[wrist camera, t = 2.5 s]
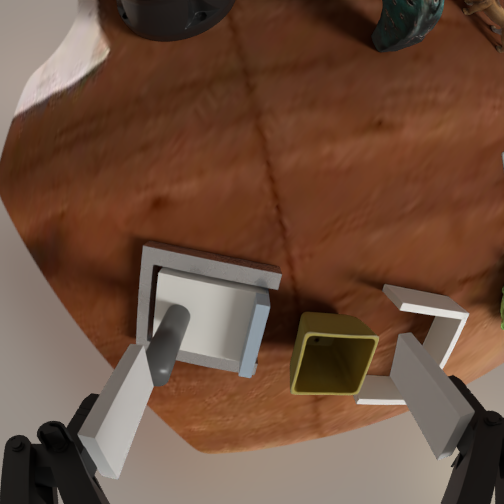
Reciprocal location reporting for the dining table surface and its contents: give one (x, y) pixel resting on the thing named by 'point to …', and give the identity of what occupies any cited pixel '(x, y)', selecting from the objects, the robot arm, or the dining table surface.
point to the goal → (436, 341)
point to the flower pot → (331, 354)
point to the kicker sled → (205, 321)
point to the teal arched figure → (405, 23)
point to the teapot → (502, 309)
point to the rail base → (196, 264)
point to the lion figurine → (489, 15)
